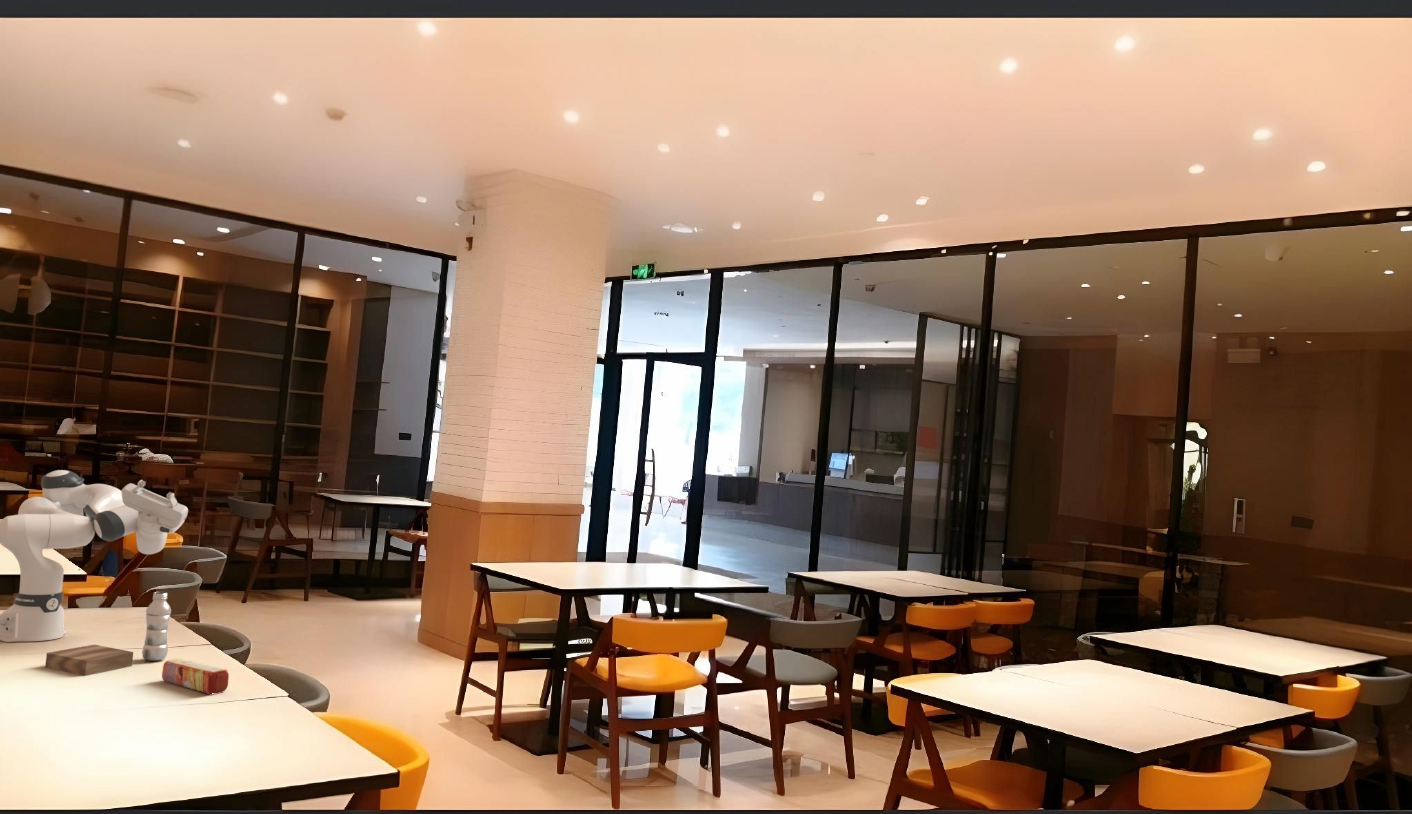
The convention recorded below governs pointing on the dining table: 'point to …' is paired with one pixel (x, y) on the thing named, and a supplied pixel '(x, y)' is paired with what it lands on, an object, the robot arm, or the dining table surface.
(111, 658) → the walnut stand
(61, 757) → the dining table surface
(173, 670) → the snack package
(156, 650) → the plastic bottle
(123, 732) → the dining table surface
